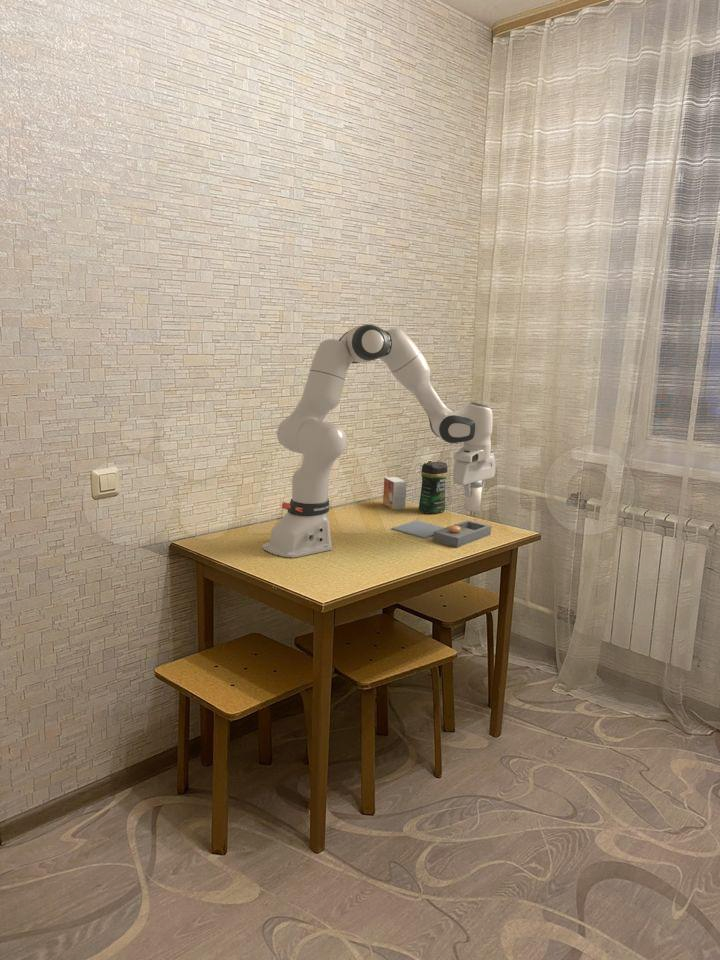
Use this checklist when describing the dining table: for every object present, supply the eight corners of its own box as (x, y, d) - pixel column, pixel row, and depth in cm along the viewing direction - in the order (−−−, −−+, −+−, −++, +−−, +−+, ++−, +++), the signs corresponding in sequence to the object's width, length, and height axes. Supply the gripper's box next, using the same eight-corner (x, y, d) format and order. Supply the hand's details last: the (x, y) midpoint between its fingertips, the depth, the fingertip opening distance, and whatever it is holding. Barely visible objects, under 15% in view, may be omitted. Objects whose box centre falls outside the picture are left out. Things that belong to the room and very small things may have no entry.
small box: (382, 504, 281) (383, 477, 279) (395, 503, 284) (396, 476, 281) (392, 509, 274) (393, 482, 272) (405, 508, 277) (407, 481, 274)
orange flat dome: (456, 533, 236) (456, 529, 236) (446, 531, 239) (447, 526, 238) (462, 531, 239) (462, 527, 239) (453, 528, 241) (453, 524, 241)
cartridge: (474, 512, 241) (477, 482, 239) (461, 509, 244) (463, 479, 242) (483, 509, 245) (485, 480, 243) (470, 506, 248) (472, 477, 246)
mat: (424, 538, 241) (424, 537, 241) (391, 529, 250) (391, 528, 250) (449, 529, 251) (449, 528, 251) (416, 521, 260) (416, 520, 260)
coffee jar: (431, 515, 268) (433, 465, 263) (415, 511, 273) (417, 461, 269) (449, 511, 274) (452, 462, 270) (433, 507, 280) (435, 458, 276)
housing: (457, 547, 233) (458, 538, 232) (433, 540, 239) (433, 531, 238) (490, 534, 247) (491, 526, 247) (466, 528, 253) (467, 520, 253)
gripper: (485, 448, 250) (482, 487, 253) (450, 455, 235) (448, 497, 238) (501, 450, 246) (498, 491, 249) (467, 458, 231) (464, 501, 234)
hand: (473, 494), depth 243 cm, fingers closed on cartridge, 5 cm apart
